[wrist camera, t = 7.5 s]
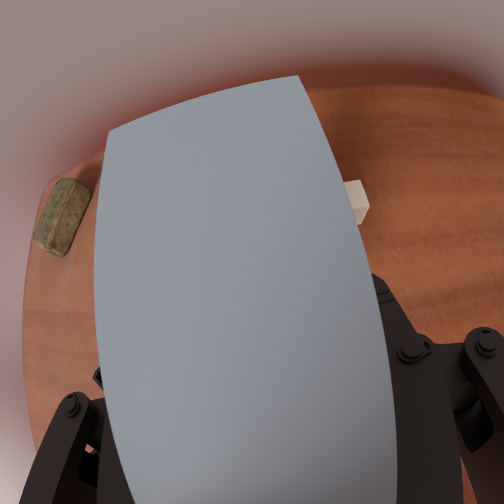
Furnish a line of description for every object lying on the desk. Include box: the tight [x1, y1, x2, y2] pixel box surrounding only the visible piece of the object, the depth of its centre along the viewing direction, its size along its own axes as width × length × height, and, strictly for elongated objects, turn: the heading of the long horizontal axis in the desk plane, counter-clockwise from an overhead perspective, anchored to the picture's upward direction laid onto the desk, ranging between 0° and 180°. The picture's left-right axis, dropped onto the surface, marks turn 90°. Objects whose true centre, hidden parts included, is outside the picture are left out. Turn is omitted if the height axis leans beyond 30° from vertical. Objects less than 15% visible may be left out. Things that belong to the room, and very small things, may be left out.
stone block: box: [33, 178, 91, 257], centre depth 34 cm, size 6×12×5 cm, turn 163°
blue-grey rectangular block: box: [94, 75, 397, 504], centre depth 9 cm, size 10×4×13 cm, turn 10°
